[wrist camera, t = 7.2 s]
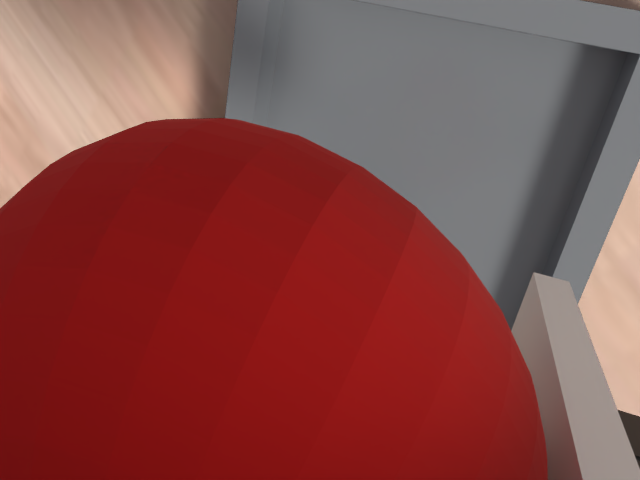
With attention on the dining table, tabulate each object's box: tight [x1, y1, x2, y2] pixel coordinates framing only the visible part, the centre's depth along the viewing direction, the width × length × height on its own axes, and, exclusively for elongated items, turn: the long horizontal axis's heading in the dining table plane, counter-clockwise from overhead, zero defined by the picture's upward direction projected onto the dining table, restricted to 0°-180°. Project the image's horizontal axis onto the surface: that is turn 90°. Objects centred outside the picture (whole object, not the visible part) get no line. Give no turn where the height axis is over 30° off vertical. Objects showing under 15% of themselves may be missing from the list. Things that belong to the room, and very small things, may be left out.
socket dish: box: [225, 0, 640, 330], centre depth 22 cm, size 15×15×2 cm
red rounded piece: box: [0, 118, 548, 480], centre depth 8 cm, size 9×7×10 cm
